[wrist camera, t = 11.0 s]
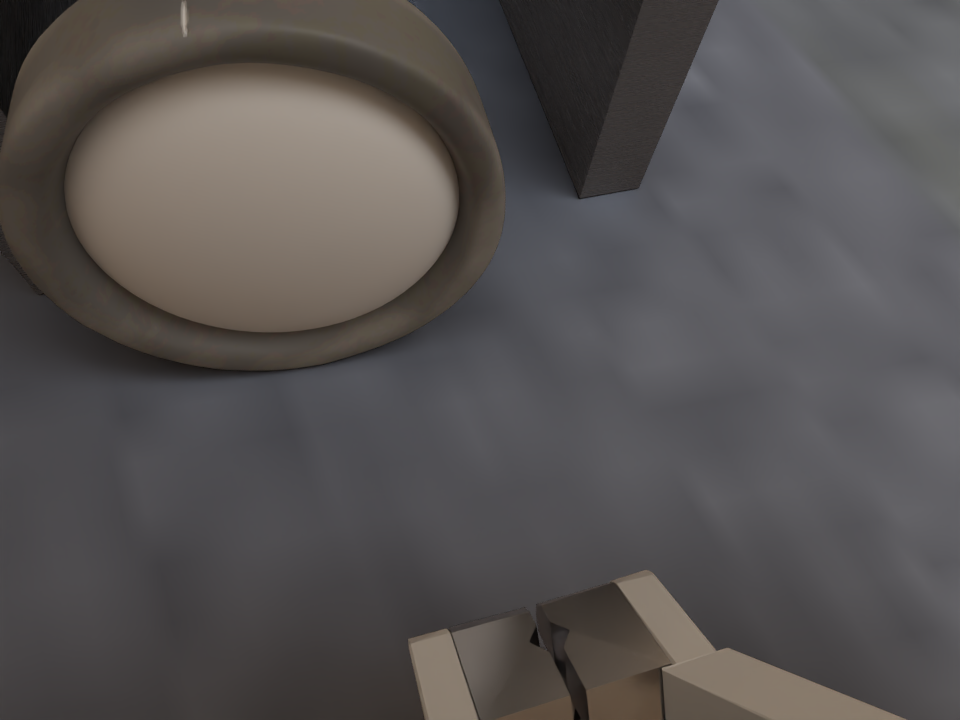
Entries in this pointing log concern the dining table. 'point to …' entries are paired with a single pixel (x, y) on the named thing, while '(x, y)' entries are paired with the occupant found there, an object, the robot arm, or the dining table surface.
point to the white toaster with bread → (552, 67)
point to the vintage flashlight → (249, 176)
